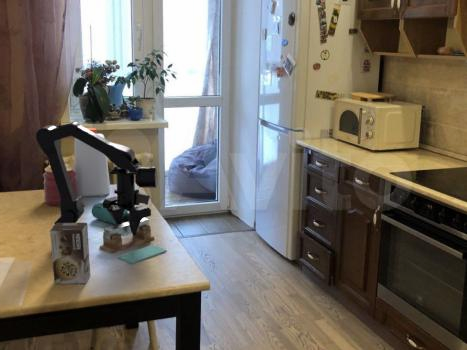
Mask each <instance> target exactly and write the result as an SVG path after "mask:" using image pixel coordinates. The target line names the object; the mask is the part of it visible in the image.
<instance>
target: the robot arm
mask: <svg viewBox="0 0 467 350" xmlns="http://www.w3.org/2000/svg"><path fill="white" fill-rule="evenodd" d="M87 128H88V127H87ZM87 128H86V127H84V126H83V125H81V124H80V123H79V122H76V121H72V122H70V123H65V124H61V125H56V126H55V125H53V124H48V125H46V126H44V127H41V128H40V129H38V130H37V132H36V134H35V140H36V142H37V144H38V146H39V149H40V150H41V151H42V153H44V154H45V156H46V158H47V160H48V164H49V165H50V167H51V170H52V173H53V176H54V179H55V183H56V186H57V189H58V192H59V195H60V206H59V211H60V217H59V218H58V219H57V220H56V221H55V222H54V225H55V224H56V223H78V222H79V219H80V218H81V217H82V216H83V214H84V212H85V207H86V205H85V204H84V202H83V201H84V200H83V197H82V196H76V194H75V193H74V191H73V188H72V185H71V182H70V179H69V176H68V172H67V169H66V166H65V164H66V163H65V160H64V157H63V153H62V139H64V138H68V137H72V138H74V139H75V138H76V139H78V140H80V141H82V142H83V143H85V144H87V145H89V146H91V147H92V148H94V149H96V150H98V151H99V152H101V153H103V154H104V155H106V156H107V160H109V161H110V162H111V163H112V164H113V165H114V167H113V169H112V170H111V171H110V172H109V175H116V176H115V177H116V189H114V190H113V191H114V192H113V193H114V194H116V195H117V196H113V197H108V198H104V199H103V201H102V203H103V208H106V209H107V211H108V212H109V214H110V215H111V217H112V218H113V220H114V222H115V224H114V225H118V224H122V223H123V212H124V210H126V211H128V213H129V215H130V217H127V218H128V222H129V225H130V229H131V232H132V233H131V234H132V235H136V233H137V230H138V227H139V224H140V222H141V220H142V219H143V218H149V217H151V216H152V209H151V208H150V207H148V205H149V201H150V197H151V195H149V194H145V193H142V192H140V190H139V189H136V187H137V186H138V187H139V188H147V189H151V188H152V189H153V188H154V189H155V188H156V189H157V188H158V184H159V174H158V169H157V166H142V164H141V162H140V161H139V160H138V159H137V158H136V154H135V150H133V149H132V148H130V147H128V146H125V145H123V144H119V143H115V142H111V141H110V140H108V139H106V138H105V137H104V138H105V139H104V138H103V137H101V136H99V135H97V134H98V133H97V134H95V133H94V132H92V131H90V130H88V129H87ZM136 185H137V186H136ZM140 204H141V205H140ZM143 204H144V205H143ZM132 235H131V236H132Z"/></svg>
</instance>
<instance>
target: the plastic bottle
mask: <svg viewBox="0 0 467 350" xmlns="http://www.w3.org/2000/svg"><path fill="white" fill-rule="evenodd" d="M87 129H88V130H90V131H92V132H94V133H95V134H97V135H99V136H101V137H103V138H104V139H106V138H105V135H104V134H103V133H98V132H97V131H98V129H97V128H95V127H87ZM73 147H74V148H73V149H74V155H73V167H74V169H73V171H74V172H76V175H75V180H76V181H77V182H76V187H77V197H79V196H82V198H83V197H84V198H85V197H90V198H91V197H103V196H107V195H109V193H110V191H111V183H110V176H109V175H110V172H109V168H108V167H109V166H108V158H107V156H106V155H104V154H103V153H101V152H99V151H98V150H96V149H94V148H92V147H91V146H89V145H87V144H85V143H83V142H82V141H80V140H78V139H76V138H75V137H74V146H73Z"/></svg>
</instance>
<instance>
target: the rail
mask: <svg viewBox="0 0 467 350" xmlns="http://www.w3.org/2000/svg"><path fill="white" fill-rule="evenodd" d="M147 225H150V219H149V218H148V217H145V218H143V219H142V220H141V222H140V224H139V227H138V230H137V231H140V230H142V227H144V226H147ZM103 232H104V237H105V238H107V239H110V240H111V239H112V236H114V235H118V234H121V237H123V236H126V235H130V234H132V232H131V229H130V225H129V222H125V223H122V224H118V225H116V224H114V225H112V226H109V227H105V228H104V229H103Z"/></svg>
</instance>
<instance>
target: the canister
mask: <svg viewBox="0 0 467 350" xmlns="http://www.w3.org/2000/svg"><path fill="white" fill-rule="evenodd" d="M65 166H66V169H67V172H68V176H69V179H70V182H71V185H72V188H73V191H74V193H75V194H76V196H77V187H76V182H77V181H76V180H75V175H76V172H74V166H72V165H71V164H69V163H65ZM44 171H45V172H44V173H43V174H42V177H43V178H44V181H43V188H44V190H43V191H44V201H45V204H46V205H47V206H51V207H52V206H53V207H60V195H59V192H58V189H57V186H56V183H55V179H54V176H53V173H52V170H51V167H50V164H49V165H47V166H46V167H45V168H44ZM77 197H78V196H77Z"/></svg>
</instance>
